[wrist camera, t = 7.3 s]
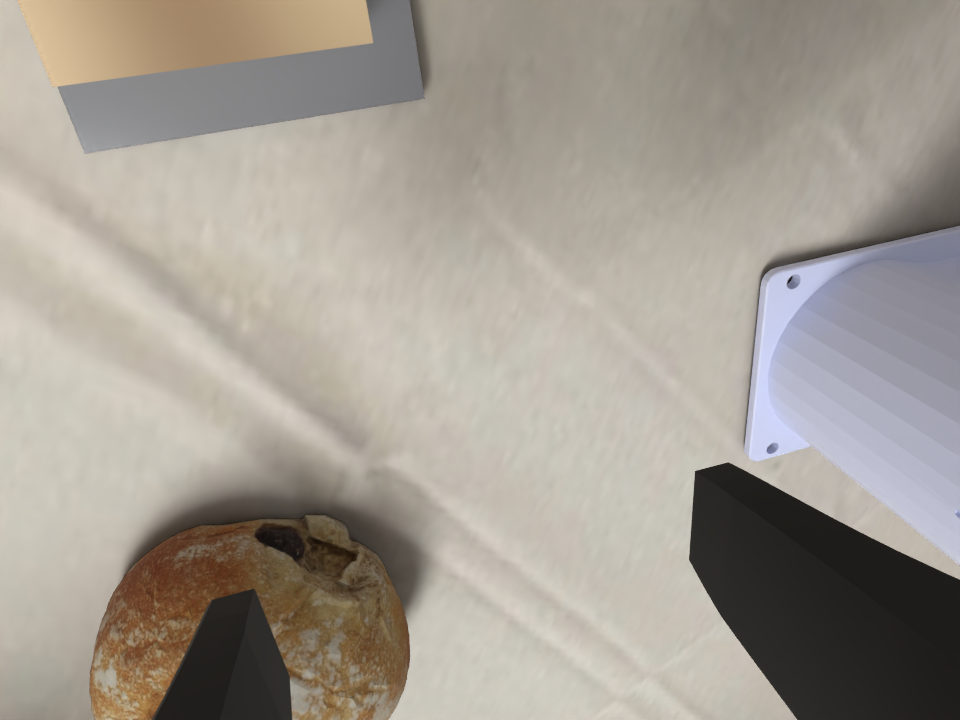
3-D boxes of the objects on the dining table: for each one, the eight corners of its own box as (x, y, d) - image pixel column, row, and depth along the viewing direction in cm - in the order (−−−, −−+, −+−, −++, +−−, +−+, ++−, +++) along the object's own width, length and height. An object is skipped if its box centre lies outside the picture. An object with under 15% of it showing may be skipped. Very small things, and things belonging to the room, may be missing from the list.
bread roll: (402, 495, 27) (466, 555, 19) (363, 741, 27) (412, 898, 19) (141, 473, 23) (95, 535, 16) (92, 756, 23) (21, 955, 16)
